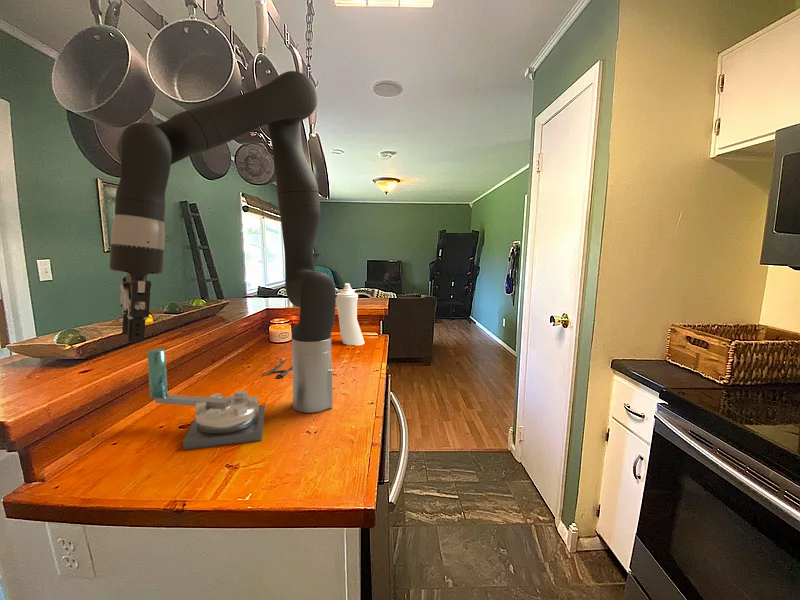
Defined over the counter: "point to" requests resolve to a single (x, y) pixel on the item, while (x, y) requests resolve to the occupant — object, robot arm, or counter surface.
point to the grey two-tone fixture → (203, 401)
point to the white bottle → (349, 317)
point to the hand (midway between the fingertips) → (132, 337)
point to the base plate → (225, 434)
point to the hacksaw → (280, 370)
